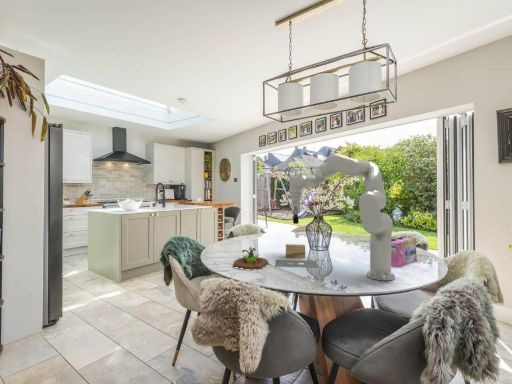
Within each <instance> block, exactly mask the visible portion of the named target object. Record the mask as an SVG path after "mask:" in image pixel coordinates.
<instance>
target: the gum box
mask: <svg viewBox="0 0 512 384" xmlns="http://www.w3.org/2000/svg"><path fill="white" fill-rule="evenodd" d="M417 257H418V255H417V238H416V237H414V238H409V237H407V236H401V237H397V238H391V267H394V268H400V267H402V266H405V265H408V263H409V264H411V263H414V262H417Z"/></svg>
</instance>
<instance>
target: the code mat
mask: <svg viewBox="0 0 512 384" xmlns="http://www.w3.org/2000/svg"><path fill="white" fill-rule="evenodd" d="M274 267H275V268H303V269H304V268H306V269H307V268H310V269H318V268H319V266H318V264H317V261H316V260H306V259H303V260H302V259H275V262H274Z"/></svg>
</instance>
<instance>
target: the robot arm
mask: <svg viewBox="0 0 512 384" xmlns="http://www.w3.org/2000/svg"><path fill="white" fill-rule="evenodd" d="M338 173H340V174H344V175H346V176H349V177H360V178H361V177H362V178H364V182H363V183H364V189H365V191H364V192H363V193H362V194H361V195H360V197H359V199H358V208H359V214H360V219H361V224H362V225H361V226H362V227H363V229H364V231H365V232H366V233H367V234H370V240H369V270H368V271H367V272H366V276H367V277H368V278H370V279H373V280H377V281H384V282H385V281H387V282H388V281H393V280H395V276H396V275H395V274H394V273H392V266H391V240H392V235H393V227H394V225H393V219H392V218H391V216H390V215H389V214H388V213H386V212H381V210H383V209H384V208H385V207H386V205H387V197H386V192H385V186H384V181H383V177H382V172H381V169H380V168H379V166H378V165H377V164H375V162H372V161H369V160H364V159H363V160H362V159H355V158H351V157H348V156H347V155H346V154H342V153H337V152H336V153H331V154H329V155H328V156H327V158H326V160H325V162H323V163H321V164H320V165H319V167H318V171H317V172H315V173H313V174H300V175H291V176H289V178H288V179H289V180H288V181H289V182H288V183H289V184H288V185H289V187H288V188H289V189H288V190H289V194H288V195H289V199H290V200H291V201H290V202H291V213H292V223H293V224H295V225H297V224H299V215H300V214H301V198H302V188H314V187H316V186H319V185H321V184H322V183H324V182H325V181H326V180H328V178H330V177H332V176H334V175H336V174H338Z"/></svg>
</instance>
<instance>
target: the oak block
mask: <svg viewBox="0 0 512 384" xmlns="http://www.w3.org/2000/svg"><path fill="white" fill-rule="evenodd" d="M285 259H295V260H302V259H303V260H306V244H294V243H293V244H291V243H289V244H287V243H285Z"/></svg>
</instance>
